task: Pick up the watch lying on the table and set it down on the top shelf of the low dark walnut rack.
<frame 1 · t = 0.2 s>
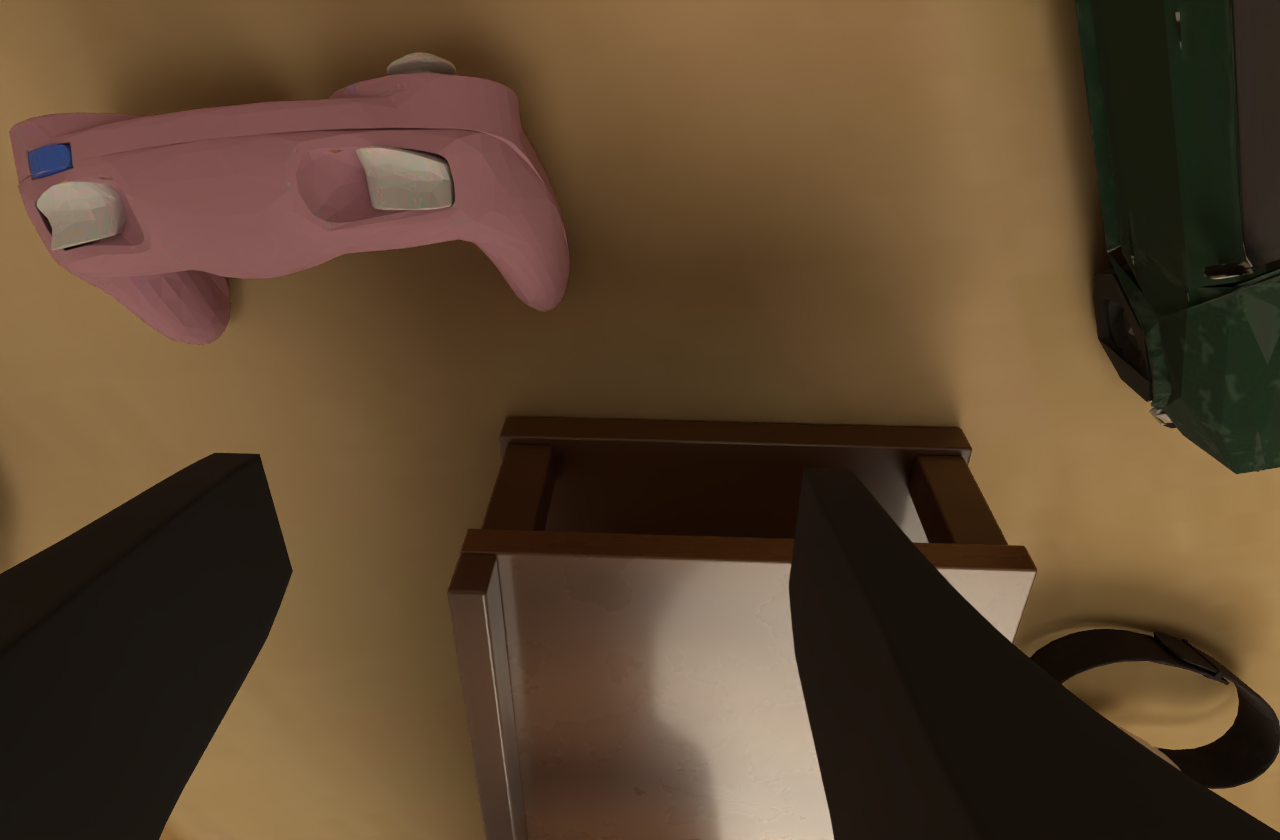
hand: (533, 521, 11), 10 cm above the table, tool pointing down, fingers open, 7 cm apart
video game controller: (357, 186, 19), on the table
watch: (1124, 669, 27), on the table
shelf rack: (715, 638, 26), on the table
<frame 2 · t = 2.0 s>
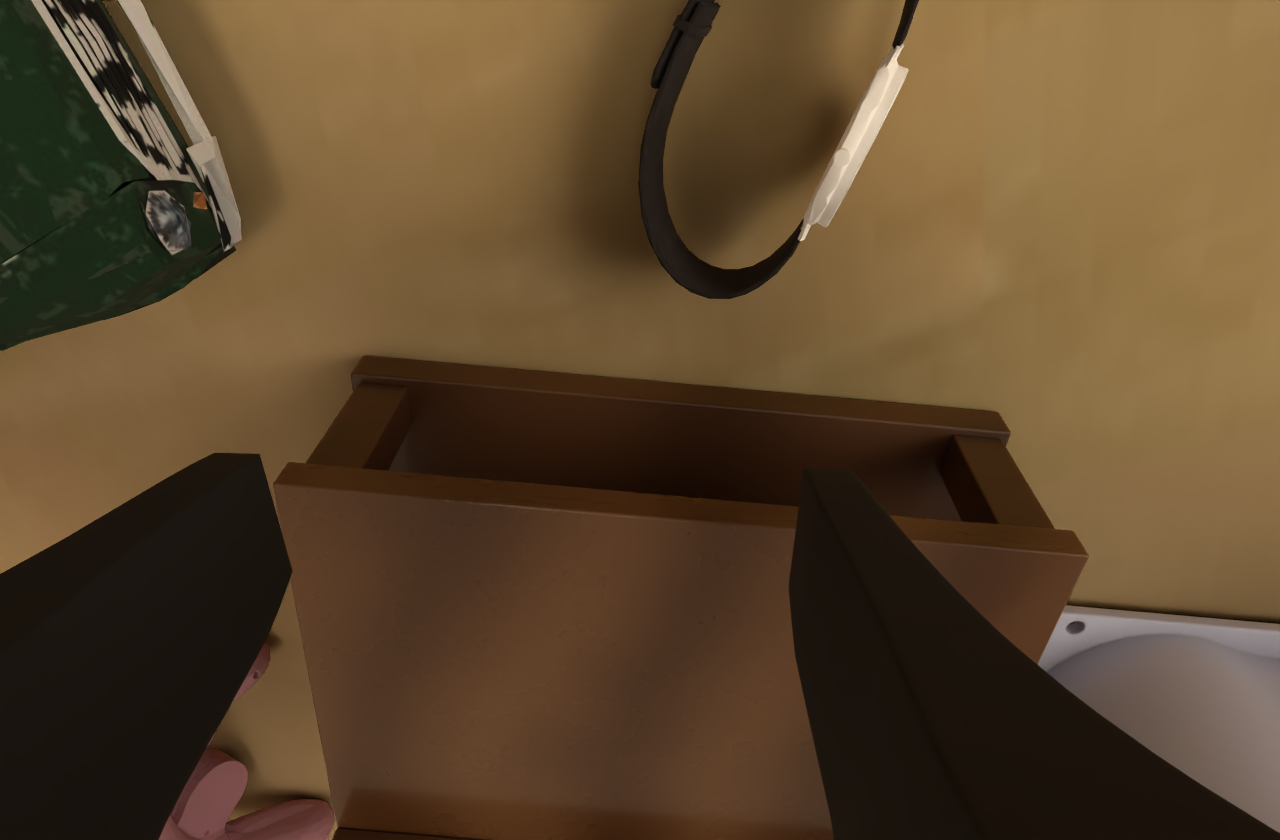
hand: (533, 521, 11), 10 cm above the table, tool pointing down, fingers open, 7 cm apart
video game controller: (232, 721, 29), on the table
watch: (764, 90, 17), on the table
shelf rack: (659, 563, 24), on the table
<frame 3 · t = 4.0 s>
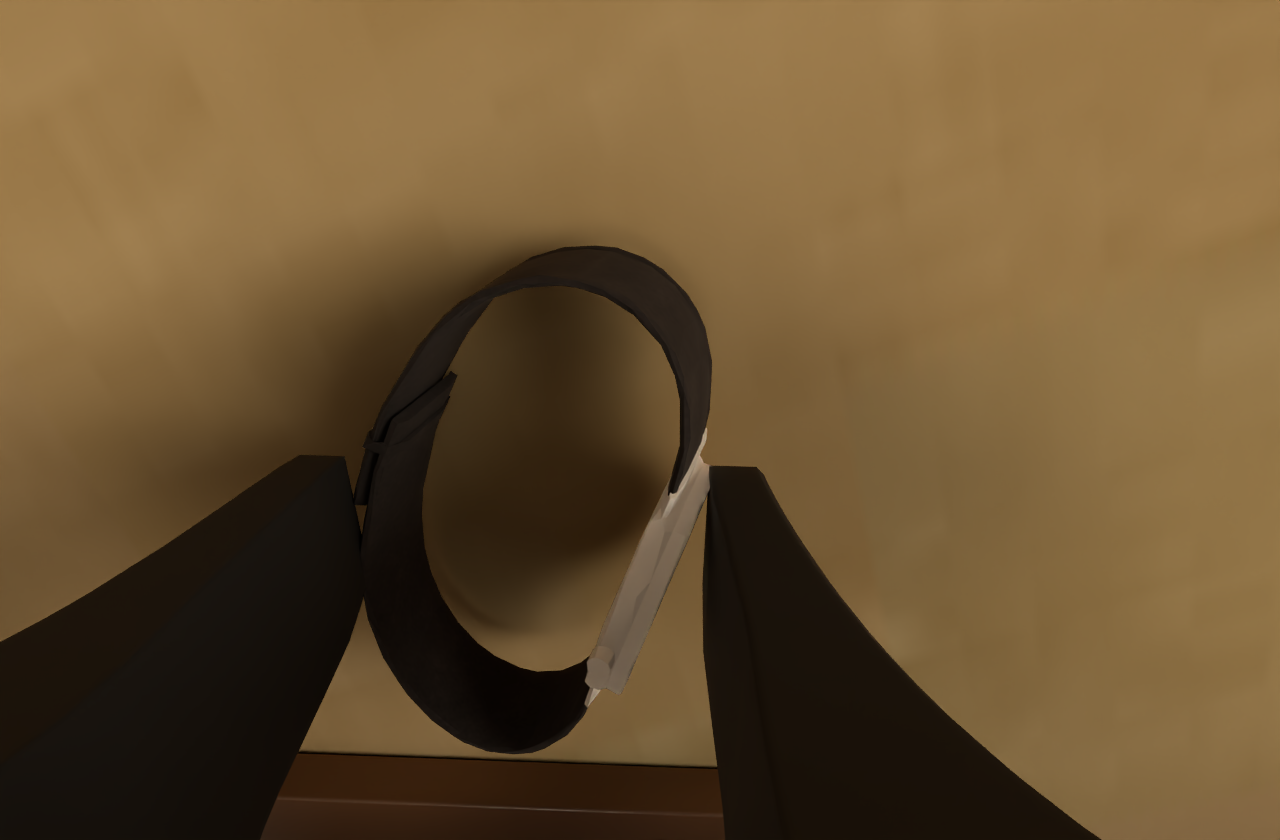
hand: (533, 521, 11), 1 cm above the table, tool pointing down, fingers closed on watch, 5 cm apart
watch: (548, 454, 13), on the table, touching gripper
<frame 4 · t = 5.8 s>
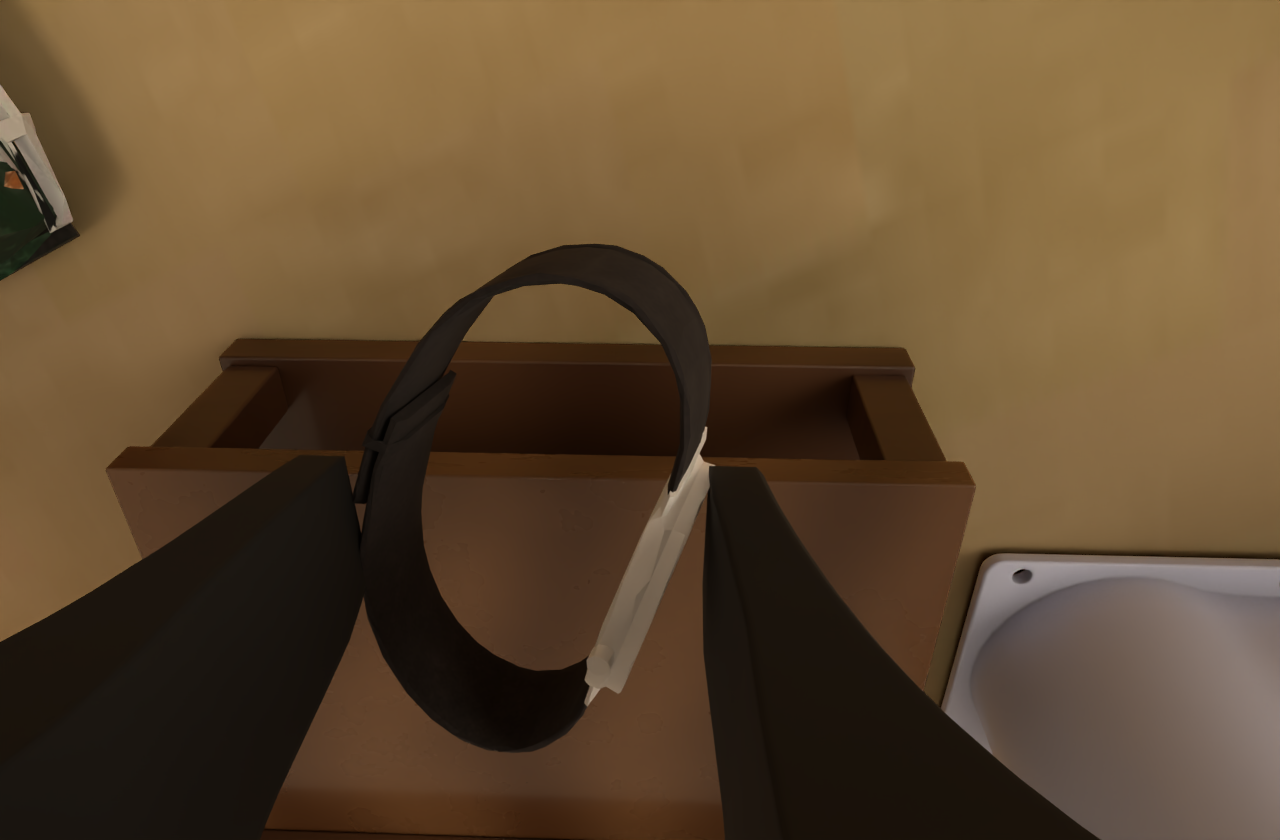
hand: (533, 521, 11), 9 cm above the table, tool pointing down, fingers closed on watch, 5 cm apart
watch: (548, 453, 13), point 7 cm above the table, touching gripper
shelf rack: (577, 537, 23), on the table
when the fingers open (7 cm above the table, at t = 7.7 s): watch stays where it is, resting on shelf rack.
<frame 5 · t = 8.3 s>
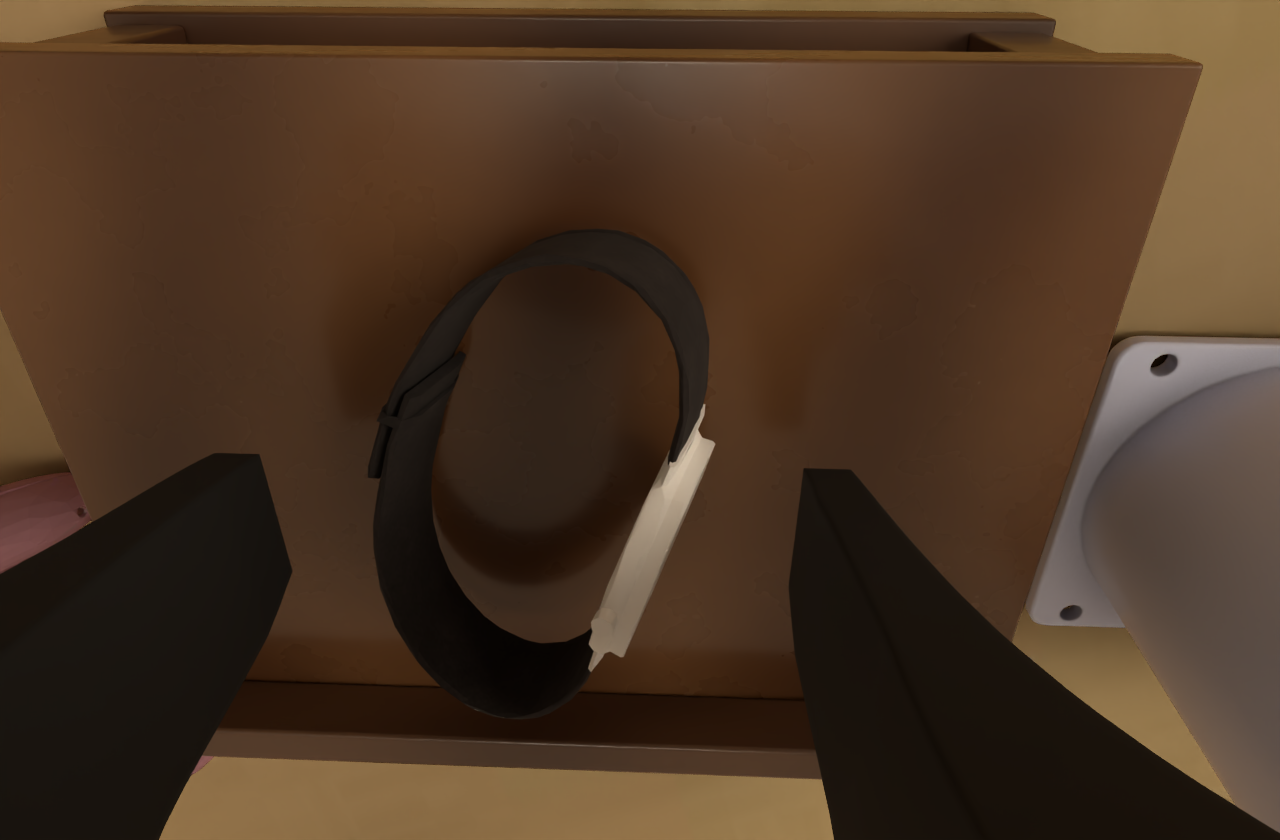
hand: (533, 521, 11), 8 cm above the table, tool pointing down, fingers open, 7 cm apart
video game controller: (95, 601, 23), on the table
watch: (553, 432, 13), point 5 cm above the table, touching shelf rack
shelf rack: (587, 319, 18), on the table
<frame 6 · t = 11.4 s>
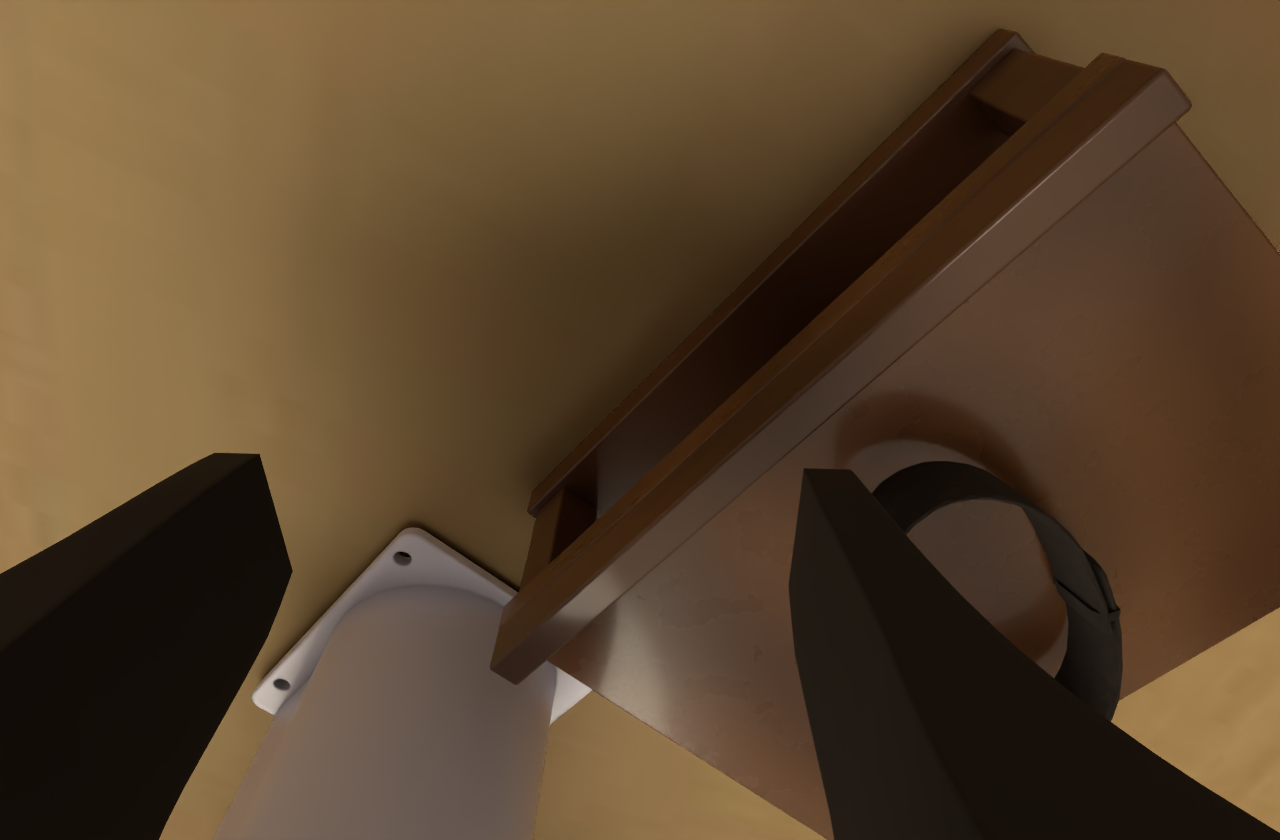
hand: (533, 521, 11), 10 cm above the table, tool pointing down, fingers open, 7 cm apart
watch: (963, 574, 18), point 5 cm above the table, touching shelf rack
shelf rack: (890, 435, 22), on the table
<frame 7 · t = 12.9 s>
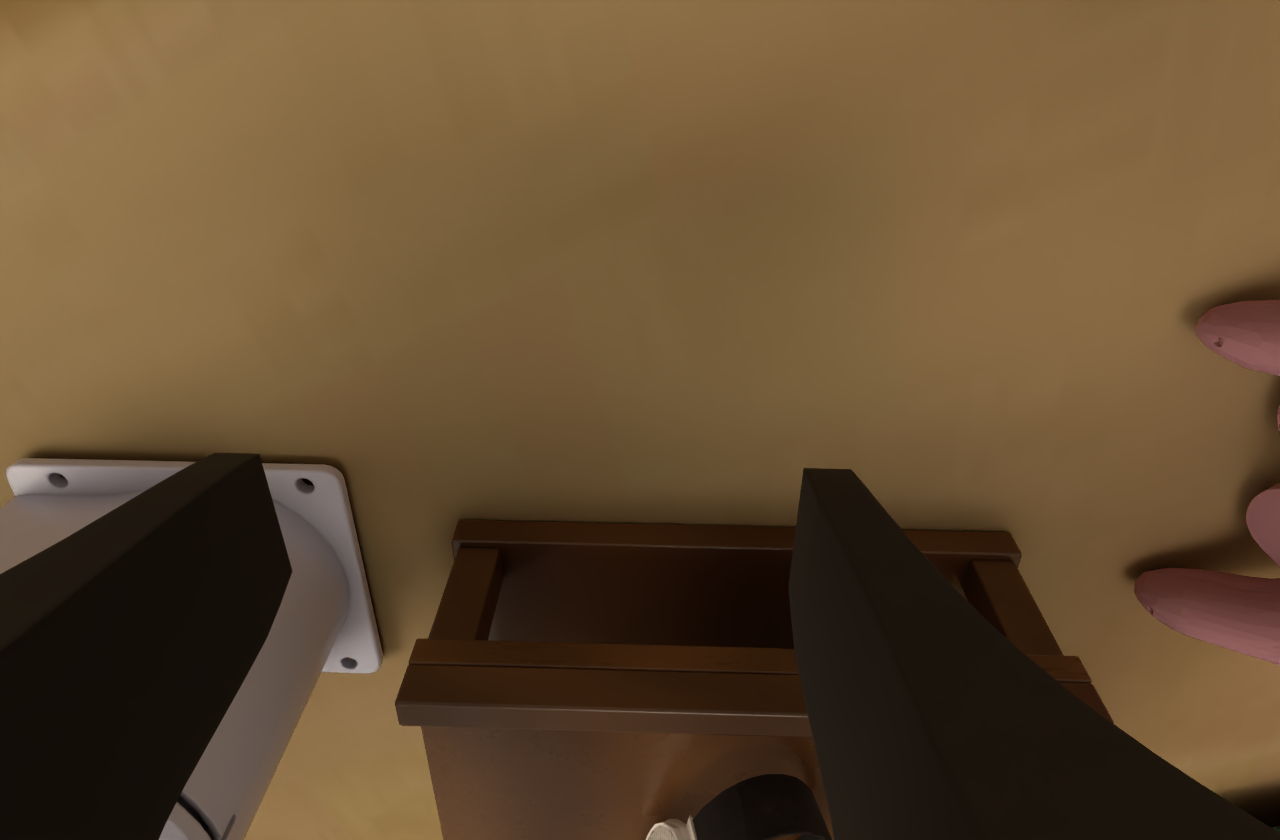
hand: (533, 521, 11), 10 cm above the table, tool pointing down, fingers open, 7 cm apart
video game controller: (1258, 444, 23), on the table
watch: (730, 830, 23), point 5 cm above the table, touching shelf rack
shelf rack: (720, 669, 27), on the table
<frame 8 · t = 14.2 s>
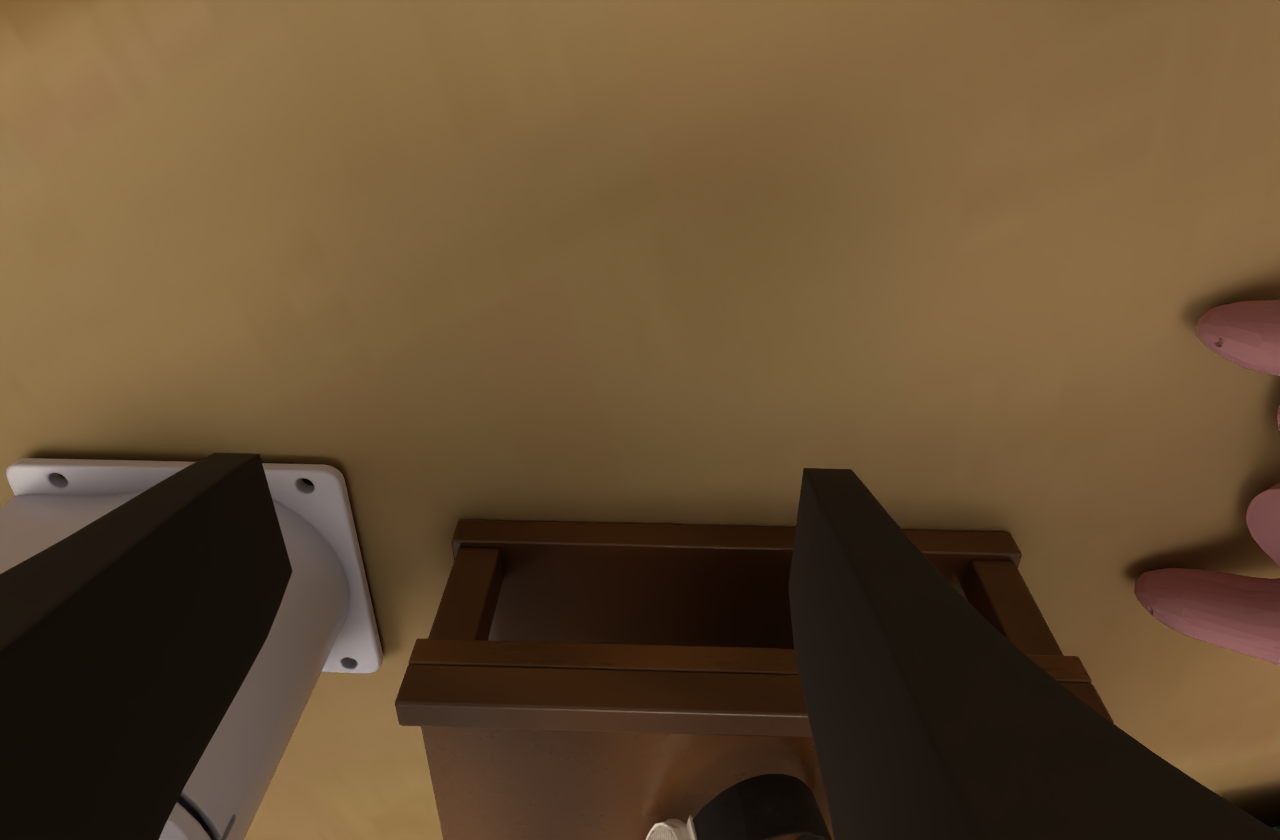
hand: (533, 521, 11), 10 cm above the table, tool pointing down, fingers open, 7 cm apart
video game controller: (1259, 444, 23), on the table
watch: (730, 830, 23), point 5 cm above the table, touching shelf rack
shelf rack: (720, 669, 27), on the table
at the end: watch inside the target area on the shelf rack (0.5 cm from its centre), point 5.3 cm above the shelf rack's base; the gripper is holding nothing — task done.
